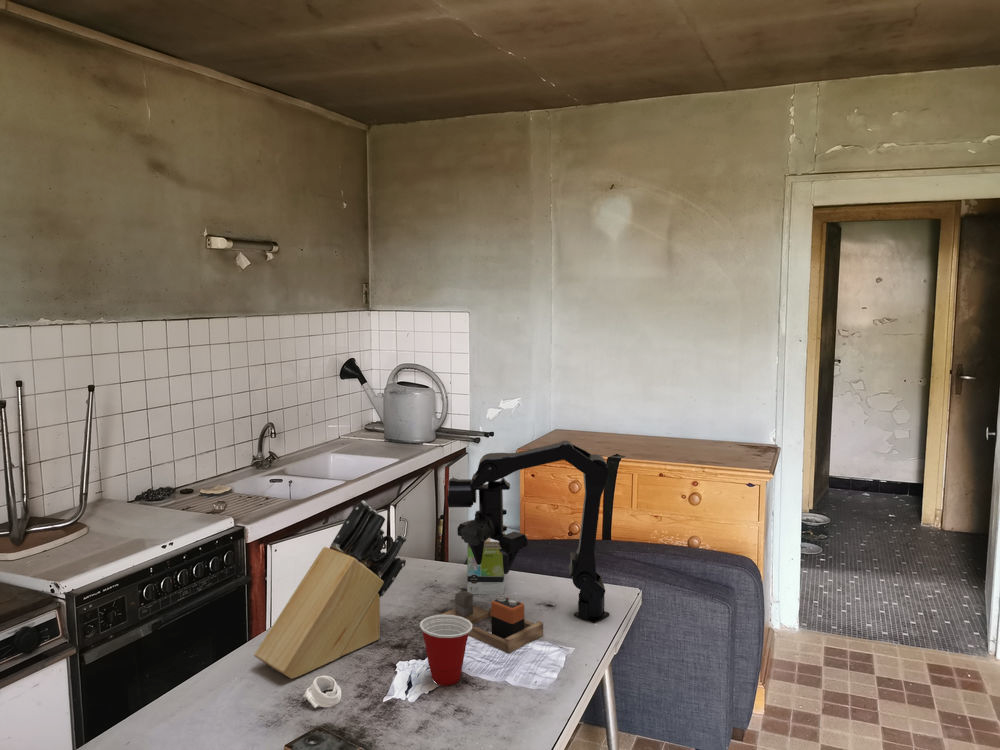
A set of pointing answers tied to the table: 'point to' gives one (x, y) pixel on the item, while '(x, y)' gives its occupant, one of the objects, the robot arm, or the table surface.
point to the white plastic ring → (321, 699)
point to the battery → (506, 617)
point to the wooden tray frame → (477, 614)
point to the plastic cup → (445, 646)
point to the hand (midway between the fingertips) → (492, 569)
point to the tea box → (486, 570)
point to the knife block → (336, 598)
